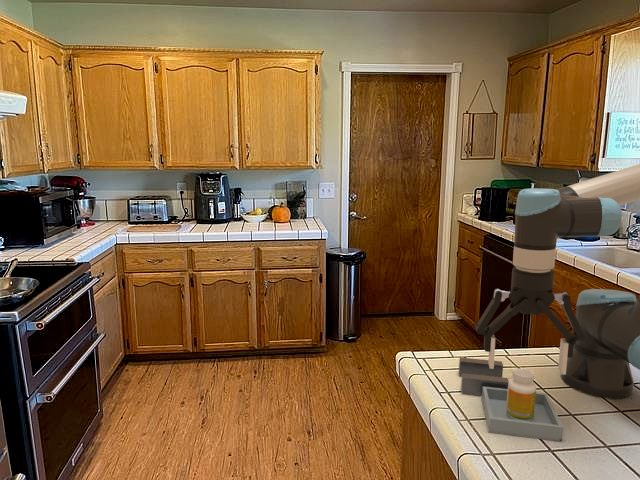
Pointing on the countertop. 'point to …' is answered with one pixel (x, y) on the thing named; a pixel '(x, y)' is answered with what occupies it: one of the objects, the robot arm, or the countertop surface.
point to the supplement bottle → (521, 395)
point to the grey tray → (499, 422)
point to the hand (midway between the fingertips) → (525, 368)
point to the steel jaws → (480, 376)
